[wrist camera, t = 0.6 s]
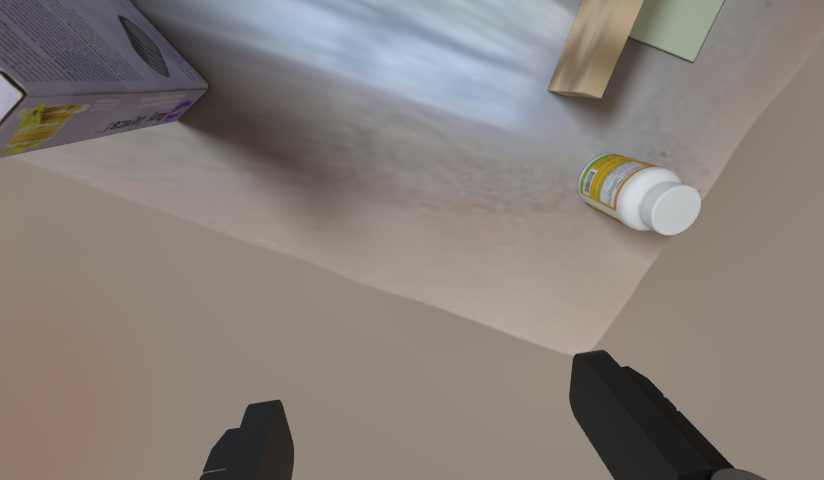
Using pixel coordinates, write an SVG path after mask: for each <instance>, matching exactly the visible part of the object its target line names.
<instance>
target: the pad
mask: <svg viewBox="0 0 824 480" xmlns="http://www.w3.org/2000/svg"><path fill="white" fill-rule="evenodd" d="M723 2H724V0H644V1H643V3H642V6H641V8H640V10H639V13H638V15H637V17H636V19H635V22H634V24H633V26H632V29H631V31H630V33H629V35H628V37H630V38H633V39H635V40H638V41H640V42H643V43H645V44H648V45H650V46H653V47H655V48H658V49H660V50H663V51H665V52H668V53H670V54H673V55H675V56H678V57H680V58H683V59H685V60H687V61H690V62H694V60H695V58H696V56H697V54H698V52H699V50H700V48H701V46H702V44H703V42H704V40H705V38H706V36H707V34H708V32H709V30H710V28H711V26H712V24H713V22H714V20H715V18H716V16H717V14H718V12H719V10H720V8H721V6H722V4H723Z"/></svg>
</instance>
